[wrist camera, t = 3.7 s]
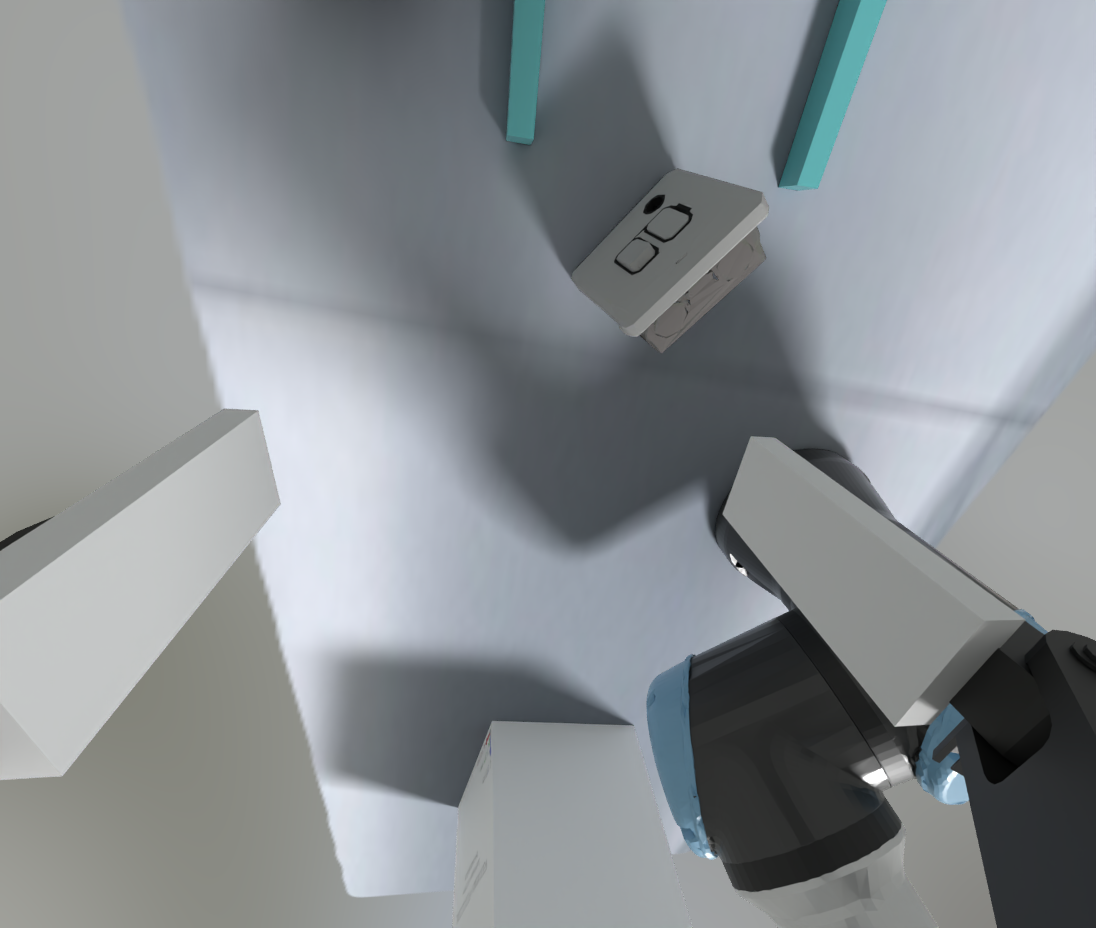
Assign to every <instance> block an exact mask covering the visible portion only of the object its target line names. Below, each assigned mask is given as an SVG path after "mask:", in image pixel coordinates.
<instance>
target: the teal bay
mask: <svg viewBox="0 0 1096 928" xmlns="http://www.w3.org/2000/svg"><path fill="white" fill-rule="evenodd" d="M886 1H887V0H840V1H839V4H838V7H837V10H836V13H835V16H834V19H833V22H832V25H831V28H830V31H829V34H828V37H827V40H826V44H825V47H824V50H823V53H822V56H821V59H820V62H819V65H818V68H817V71H816V74H815V77H814V80H813V83H812V86H811V89H810V92H809V95H808V98H807V102H806V105H805V108H804V111H803V114H802V117H801V120H800V123H799V126H798V129H797V132H796V135H795V138H794V141H793V144H792V147H791V150H790V153H789V156H788V159H787V163H786V166H785V169H784V172H783V175H782V178H781V181H780V184H779V187H780V188H786V189H792V190H809V189H818V187H819V184H820V181H821V178H822V176H823V173H824V170H825V167H826V165H827V162H828V159H829V157H830V154H831V151H832V148H833V146H834V143H835V140H836V137H837V135H838V132H839V129H840V127H841V124H842V121H843V118H844V116H845V113H846V110H847V107H848V105H849V102H850V99H851V97H852V94H853V91H854V88H855V86H856V83H857V80H858V78H859V75H860V72H861V69H862V67H863V64H864V61H865V58H866V56H867V53H868V50H869V48H870V45H871V42H872V39H873V37H874V34H875V31H876V28H877V26H878V23H879V20H880V18H881V15H882V12H883V9H884V7H885V4H886ZM544 8H545V0H514V7H513V25H512V43H511V61H510V79H509V97H508V114H507V132H506V141H510V142H516V143H522V144H528V145H531V143H532V142H533V140H534V130H535V118H536V106H537V94H538V81H539V69H540V57H541V45H542V33H543V21H544Z"/></svg>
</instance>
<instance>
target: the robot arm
mask: <svg viewBox="0 0 1096 928" xmlns="http://www.w3.org/2000/svg"><path fill="white" fill-rule="evenodd" d="M280 504H281V503H280V499H279V495H278V491H277V487H276V482H275V478H274V474H273V470H272V466H271V461H270V457H269V453H268V449H267V445H266V440H265V436H264V432H263V428H262V424H261V419H260V415H259V411H258V410H240V409H223V410H221V411H220V412H218V413H217V414H215V415H213V416H212V417H210V418H208V419H207V420H206V421H204V422H202V423H201V424H199V425H197V426H196V427H194V428H193V429H191V430H190V431H188V432H187V433H185V434H183V435H182V436H180V437H179V438H177V439H176V440H174V441H173V442H171V443H169V444H168V445H166V446H165V447H163V448H161V449H160V450H158V451H157V452H155V453H154V454H152V455H150V456H149V457H147V458H146V459H144V460H143V461H141V462H139V463H138V464H136V465H135V466H133V467H132V468H130V469H128V470H127V471H125V472H124V473H122V474H121V475H119V476H117V477H116V478H114V479H113V480H111V481H110V482H108V483H106V484H105V485H103V486H102V487H100V488H98V489H97V490H95V491H94V492H92V493H91V494H89V495H87V496H86V497H84V498H83V499H81V500H80V501H78V502H76V503H75V504H73V505H72V506H70V507H69V508H67V509H65V510H64V511H62V512H61V513H59V514H58V515H56V516H54V517H52V518H49V519H47V520H44V521H42V522H39V523H37V524H34V525H32V526H30V527H27V528H25V529H23V530H20V531H18V532H16V533H14V534H13V535H11V536H9V537H8V538H6V539H5V540H3V541H1V542H0V780H5V779H23V778H40V777H57V776H63V775H64V773H65V772H66V771H67V770H68V768H69V767H70V766H71V765H72V763H73V762H74V761H75V760H76V758H77V757H78V756H79V755H80V753H81V752H82V751H83V750H84V749H85V747H86V746H87V745H88V744H89V742H90V741H91V740H92V739H93V737H94V736H95V735H96V734H97V732H98V731H99V730H100V728H101V727H102V726H103V725H104V723H105V722H106V721H107V720H108V719H109V717H110V716H111V715H112V714H113V712H114V711H115V710H116V709H117V707H118V706H119V705H120V704H121V702H122V701H123V700H124V699H125V697H126V696H127V695H128V694H129V692H130V691H131V690H132V689H133V687H134V686H135V685H136V684H137V682H138V681H139V680H140V679H141V678H142V676H143V675H144V674H145V672H146V671H147V670H148V669H149V667H150V666H151V665H152V664H153V663H154V661H155V660H156V659H157V657H158V656H159V655H160V654H161V653H162V651H163V650H164V649H165V647H166V646H167V645H168V644H169V643H170V641H171V640H172V639H173V638H174V636H175V635H176V634H177V633H178V631H179V630H180V629H181V628H182V626H183V625H184V624H185V623H186V621H187V620H188V619H189V618H190V616H191V615H192V614H193V613H194V611H195V610H196V609H197V608H198V607H199V605H200V604H201V603H202V602H203V600H204V599H205V598H206V597H207V595H208V594H209V593H210V592H211V590H212V589H213V588H214V587H215V585H216V584H217V583H218V581H219V580H220V579H221V578H222V577H223V575H224V574H225V573H226V572H227V570H228V569H229V568H230V567H231V565H232V564H233V563H234V562H235V560H236V559H237V558H238V556H239V555H240V554H241V553H242V552H243V550H244V549H245V548H246V547H247V545H248V544H249V543H250V542H251V540H252V539H253V538H254V537H255V536H256V534H257V533H258V532H259V531H260V529H261V528H262V527H263V526H264V524H265V523H266V522H267V521H268V519H269V518H270V517H271V516H272V514H273V513H274V512H275V511H276V509H277V508H278V507H279V506H280ZM715 531H716V539H717V543H718V545H719V547H720V549H721V550H722V552H723V553H724V555H725V556H726V557H727V559H728V560H729V562H730V563H731V564H732V565H733V566H734V567H735V568H736V569H737V570H738V571H739V572H740V573H742V574H743V575H745V576H747V577H748V578H750V579H751V580H752V581H754V582H755V583H756V584H758V585H759V586H761V587H762V588H764V589H765V590H767V591H768V592H769V593H771V594H772V595H774V596H775V597H777V598H778V599H780V600H781V601H782V602H783V604H784V605H785V606H786V607H787V609H788V610H789V612H787V613H785V614H782V615H780V616H778V617H776V618H773V619H771V620H769V621H767V622H765V623H763V624H761V625H759V626H757V627H755V628H753V629H751V630H748V631H746V632H744V633H742V634H740V635H738V636H736V637H734V638H732V639H730V640H728V641H726V642H724V643H722V644H720V645H717V646H715V647H713V648H711V649H709V650H707V651H705V652H703V653H701V654H699V655H697V656H695V655H693V654H691V655H689V656H687V658H686V659H685V661H683V662H681V663H680V664H678V665H676V666H674V667H672V668H670V669H669V670H667V671H665V672H663V673H661V674H660V675H658V676H657V677H656V678H655V679H654V680H653V682H652V683H651V685H650V687H649V690H648V695H647V721H648V729H649V735H650V741H651V745H652V750H653V754H654V759H655V763H656V766H657V770H658V773H659V777H660V780H661V783H662V787H663V790H664V793H665V796H666V799H667V802H668V804H669V807H670V809H671V812H672V815H673V817H674V819H675V821H676V823H677V825H678V826H679V827H680V828H681V831H682V834H683V837H684V839H685V841H686V843H687V845H688V846H689V848H690V849H691V850H692V851H693V852H694V853H695V854H696V855H698V856H700V857H703V858H704V857H707V858H708V859H710V860H713V859H715V858H717V857H718V856H719V857H720V858H721V860H722V862H723V865H724V867H725V869H726V872H727V874H728V876H729V878H730V880H731V883H732V886H733V887H734V890H735V892H736V893H737V894H738V895H739V896H740V897H742V898H744V899H745V900H746V901H748V902H749V903H751V904H752V905H754V906H756V907H757V908H759V909H760V910H762V911H763V912H765V913H766V914H768V915H769V916H770V918H771V919H773V921H774V922H775V924H776V926H777V928H939V926H938V925H937V923H936V921H935V920H934V918H933V917H932V915H931V914H930V912H929V911H928V909H927V907H926V906H925V904H924V903H923V901H922V899H921V898H920V896H919V895H918V893H917V891H916V890H915V888H914V887H913V885H912V883H911V882H910V880H909V879H908V877H907V876H906V874H905V871H904V865H903V855H904V846H905V836H906V829H905V827H904V825H903V824H902V822H901V820H900V819H899V817H898V816H897V814H896V813H895V812H894V810H893V808H892V807H891V805H890V804H889V802H888V801H887V799H886V798H885V796H884V794H883V791H885V790H887V789H889V788H891V787H892V786H895V785H898V784H900V783H903V782H906V781H909V780H911V779H917V781H918V783H919V784H920V786H921V787H922V788H923V790H924V791H926V792H928V793H930V794H931V795H933V796H934V797H935V798H936V799H937V800H938V801H940V802H942V803H945V804H950V805H953V804H964V803H965V802H967V801H970V806H971V811H972V815H973V820H974V824H975V828H976V833H977V838H978V842H979V847H980V852H981V856H982V860H983V865H984V870H985V874H986V879H987V883H988V888H989V893H990V897H991V901H992V906H993V911H994V915H995V920H996V924H997V928H1096V641H1095V640H1092V639H1090V638H1088V637H1085V636H1082V635H1078V634H1075V633H1071V632H1068V631H1059V630H1052V631H1050V632H1047V631H1046V630H1045V629H1044V628H1042V627H1041V626H1040V625H1039V624H1037V623H1036V622H1035V620H1034V618H1033V617H1032V616H1031V615H1030V614H1029V613H1027V612H1026V611H1024V610H1022V609H1018V608H1017V607H1015V606H1014V605H1012V604H1011V603H1010V602H1008V601H1007V600H1005V599H1004V598H1003V597H1001V596H1000V595H999V594H997V593H996V592H995V591H993V590H992V589H990V588H989V587H988V586H986V585H985V584H983V583H982V582H980V581H979V580H978V579H976V578H975V577H974V576H972V575H971V574H970V573H968V572H967V571H965V570H964V569H963V568H961V567H960V566H958V565H957V564H956V563H954V562H953V561H952V560H950V559H949V558H947V557H946V556H945V555H943V554H942V553H940V552H939V551H938V550H936V549H935V548H934V547H932V546H931V545H929V544H928V543H927V542H925V541H924V540H922V539H921V538H920V537H918V536H917V535H915V534H914V533H913V532H911V531H910V530H909V529H907V528H906V527H905V526H903V525H902V524H901V523H899V522H898V521H897V520H896V519H895V518H894V516H893V515H892V513H891V512H890V510H889V509H888V507H887V506H886V504H885V503H884V501H883V500H882V498H881V497H880V496H879V494H878V493H877V491H876V490H875V489H874V487H873V486H872V485H871V483H870V480H869V479H868V477H867V476H866V475H865V474H864V473H863V472H862V471H861V470H860V469H859V468H858V467H857V466H855V465H854V464H852V463H851V462H849V461H848V460H846V459H845V458H843V457H842V456H840V455H838V454H836V453H834V452H831V451H827V450H821V449H805V450H798V451H793V450H791V449H790V448H789V447H787V446H786V445H784V444H783V443H782V442H780V441H779V440H778V439H776V438H774V437H755V436H751V437H750V440H749V443H748V445H747V448H746V451H745V454H744V456H743V459H742V462H741V465H740V467H739V470H738V473H737V476H736V478H735V481H734V484H733V487H732V489H731V492H730V493H729V495H728V496H727V498H726V499H725V501H724V503H723V505H722V507H721V509H720V511H719V514H718V517H717V521H716V529H715Z"/></svg>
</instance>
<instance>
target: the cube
mask: <svg viewBox="0 0 1096 928" xmlns="http://www.w3.org/2000/svg"><path fill="white" fill-rule="evenodd" d="M452 928H693V927H692V924H691V920H690V917H689V914H688V910H687V907H686V904H685V900H684V896H683V893H682V889H681V886H680V882H679V879H678V876H677V872H676V869H675V865H674V862H673V858H672V855H671V851H670V848H669V845H668V841H667V838H666V834H665V831H664V827H663V824H662V820H661V817H660V814H659V810H658V807H657V803H656V800H655V796H654V793H653V789H652V786H651V782H650V779H649V776H648V772H647V769H646V765H645V762H644V758H643V755H642V751H641V748H640V745H639V741H638V738H637V734H636V731H635V727H634V725H603V724H573V723H542V722H512V721H492V723H491V725H490V728H489V730H488V733H487V735H486V738H485V740H484V743H483V745H482V748H481V751H480V753H479V756H478V758H477V761H476V763H475V766H474V768H473V771H472V773H471V776H470V779H469V781H468V784H467V786H466V789H465V791H464V794H463V796H462V799H461V801H460V804H459V807H458V819H457V839H456V859H455V879H454V900H453V920H452Z"/></svg>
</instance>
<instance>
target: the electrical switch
mask: <svg viewBox="0 0 1096 928" xmlns="http://www.w3.org/2000/svg"><path fill="white" fill-rule="evenodd" d="M768 211H769V205H768V204H767V201H766V199H765V197H764V195H763V192H760V191H756V190H753V189H749V188H745V187H742V186H738V185H735V184H731V183H728V182H724V181H721V180H717V179H713V178H710V177H706V176H703V175H699V174H696V173H692V172H689V171H685V170H681V169H678V168H677V169H675V170H673V171H671V172H669V173H667V174H666V175H665V176H664V177H663V178H662V179H661V180H660V181H659V182H658V183H657V184H656V185H655V186H654V187H653V188H652V190H651V191H650V192H649V193H648V194H647V195H646V196H645V197H644V198H643V199H642V200H641V201H640V202H639V203H638V204H637V205H636V206H635V207H634V208H633V209H632V211H631V212H630V213H629V214H628V215H627V216H626V217H625V218H624V219H623V220H622V221H621V222H620V223H619V224H618V225H617V226H616V227H615V228H614V229H613V230H612V231H611V233H610V234H609V235H608V236H607V237H606V238H605V239H604V240H603V241H602V242H601V243H600V244H599V245H598V246H597V247H596V248H595V249H594V250H593V251H592V252H591V254H590V255H589V256H588V257H587V258H586V259H585V260H584V261H583V262H582V263H581V264H580V265H579V266H578V267H577V268H576V269H575V270H574V272H573V274H572V278H571V279H572V281H573V282H574V283H575V285H576V286H577V288H578V289H579V290H580V291H581V292H582V293H583V294H585V295H586V296H587V297H588V298H589V299H590V300H591V301H593V302H594V303H595V304H596V305H597V306H598V307H600V308H601V309H602V310H603V311H604V312H605V313H606V314H608V315H609V316H610V317H611V318H612V319H613V320H614V321H616V322H617V323H618V324H619V328H620V329H621V330H622V331H623V333H624V334H626V335H628V336H633V337H638V336H639V335H640V336H641V337H642V338H643V339H644V340H645V341H646V342H648V343H649V344H650V345H651V346H652V347H653V348H654V349H655V350H657V349H658V350H659V351H660V353H663V352H664V351H665V350H666V349H667V348H668V347H669V346H671V345H672V344H673V343H674V342H675V341H676V340H677V339H678V338H679V337H681V336H682V335H683V334H684V333H685V332H686V331H687V330H688V329H689V328H690V327H692V326H693V325H694V324H695V323H696V322H697V321H698V320H699V319H700V318H702V317H703V316H704V315H705V314H706V313H707V312H708V311H709V310H710V309H711V308H713V307H714V306H715V305H716V304H717V303H718V302H719V301H720V300H721V299H723V298H724V297H725V296H726V295H727V294H728V293H729V292H730V291H731V290H732V289H734V288H735V287H736V286H737V285H738V284H739V283H740V282H741V281H742V280H743V279H745V278H746V277H747V276H748V275H749V274H750V273H751V272H752V271H753V270H755V269H756V268H757V267H758V266H759V265H760V264H761V263H762V262H763V261H764V260H766V256H765V253H764V251H763V248H762V246H761V243H760V234H759V231H758V228H757V225H758V224H759V223H761V222H762V221H763V220H764V219H765V218H766V217H767V216H768ZM747 266H748V267H747ZM746 267H747V269H746ZM745 269H746V270H745ZM708 271H709V272H708ZM707 272H708V274H707ZM713 272H714V274H715V275H716V277H717V278H718V280H716V279H713ZM685 293H686V294H685ZM684 294H685V295H684ZM687 300H689V301H690V304H689V303H688V301H687ZM677 301H678V302H679V303H675V302H677ZM685 308H686V309H687V312H686V309H685ZM679 330H680V331H679ZM678 331H679V332H678ZM661 336H662V337H661ZM654 345H655V346H656V347H655V346H654ZM656 348H657V349H656ZM658 350H657V351H658Z"/></svg>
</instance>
